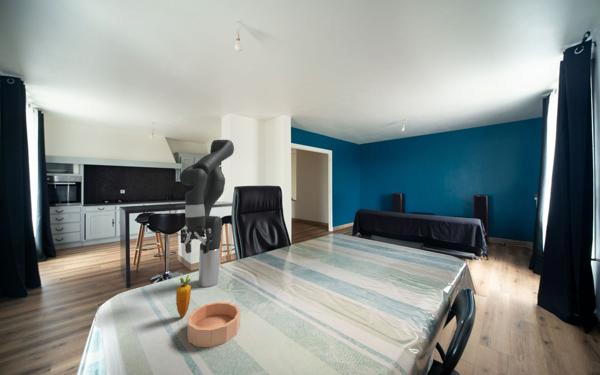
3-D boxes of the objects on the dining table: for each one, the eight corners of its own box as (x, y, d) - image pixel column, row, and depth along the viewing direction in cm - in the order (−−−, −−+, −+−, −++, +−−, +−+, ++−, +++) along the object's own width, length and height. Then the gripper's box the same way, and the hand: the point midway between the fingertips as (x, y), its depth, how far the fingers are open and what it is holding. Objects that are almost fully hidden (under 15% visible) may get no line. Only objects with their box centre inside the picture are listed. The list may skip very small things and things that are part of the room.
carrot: (186, 312, 82) (188, 272, 82) (192, 317, 78) (194, 275, 79) (172, 317, 78) (174, 275, 78) (177, 323, 75) (179, 279, 75)
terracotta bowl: (201, 315, 80) (202, 301, 80) (244, 316, 80) (245, 303, 80) (176, 345, 64) (177, 328, 64) (230, 347, 64) (231, 330, 64)
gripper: (215, 213, 94) (217, 250, 94) (187, 214, 98) (189, 250, 98) (203, 216, 87) (205, 256, 87) (174, 216, 91) (176, 255, 91)
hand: (197, 253), depth 92 cm, fingers open, 8 cm apart
